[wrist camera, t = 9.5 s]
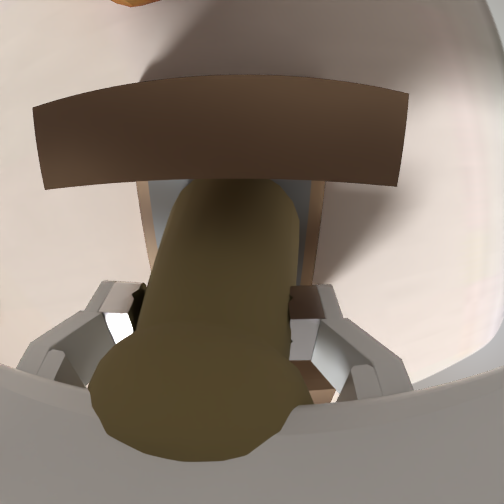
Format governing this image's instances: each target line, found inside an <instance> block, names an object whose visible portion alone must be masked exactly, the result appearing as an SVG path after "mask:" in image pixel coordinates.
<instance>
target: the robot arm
mask: <svg viewBox="0 0 504 504" xmlns="http://www.w3.org/2000/svg"><path fill="white" fill-rule="evenodd" d="M146 289H147V287H146V284H144V283H140V282H125V281H108V280H105V281H102V282H101V284H100V285H99V287H98V289H97V290H96V292H95V294H94V295H93V297H92V299H91V300H90V302H89V304H88V305H87V307H86V309H85V310H84V311H79V312H77V313H76V314H74V315H73V316H71V317H70V318H68V319H66V320H65V321H63V322H62V323H60V324H59V325H57V326H55V327H54V328H52V329H51V330H49V331H48V332H46V333H45V334H43V335H42V336H40V337H39V338H37V339H36V340H34V341H32V342H31V343H30V344H29V346H28V348H27V349H26V351H25V353H24V355H23V356H22V358H21V360H20V362H19V364H18V365H17V367H16V369H15V368H12V367H9V366H6V365H4V364H1V363H0V504H504V366H501V367H499V368H496V369H493V370H490V371H487V372H484V373H480V374H477V375H474V376H471V377H467V378H464V379H460V380H456V381H453V382H449V383H445V384H441V385H437V386H433V387H429V388H424V389H419V390H414V389H413V387H412V384H411V381H410V379H409V376H408V374H407V371H406V369H405V366H404V364H403V361H402V359H401V358H399V357H398V356H397V355H395V354H394V353H393V352H392V351H390V350H389V349H388V348H386V347H385V346H384V345H382V344H381V343H380V342H378V341H377V340H376V339H375V338H373V337H372V336H371V335H369V334H368V333H367V332H365V331H364V330H363V329H361V328H360V327H359V326H357V325H356V324H355V323H354V322H352V321H351V320H350V319H348V318H343V315H342V312H341V309H340V306H339V303H338V300H337V297H336V294H335V292H334V289H333V286H332V285H331V284H324V285H299V286H290V294H289V295H290V299H291V300H290V302H289V303H288V307H289V325H290V329H291V348H290V357H289V360H311V362H312V363H313V364H314V365H315V366H316V367H317V369H318V370H319V371H320V372H321V373H322V374H323V376H324V377H325V378H326V379H327V380H328V381H329V382H330V384H331V385H332V386H333V387H334V388H335V389H336V390H337V392H338V393H339V394H340V395H339V397H338V399H337V401H336V402H335V403H324V404H311V405H299V406H297V407H296V408H294V409H293V410H292V411H291V413H290V415H289V417H288V418H287V420H286V422H285V424H284V426H283V427H282V429H281V431H280V432H278V433H277V434H275V435H273V436H272V437H270V438H269V439H268V440H267V441H265V442H264V443H263V444H261V445H260V446H259V447H257V448H256V449H254V450H253V451H252V452H250V453H249V454H248V455H246V456H242V457H238V458H234V459H229V460H225V461H211V462H181V461H175V460H170V459H165V458H160V457H156V456H152V455H148V454H144V453H142V452H140V451H138V450H136V449H134V448H132V447H130V446H128V445H126V444H124V443H122V442H120V441H118V440H116V439H114V438H113V437H111V436H109V435H108V434H106V432H105V430H104V428H103V426H102V423H101V421H100V419H99V417H98V416H97V414H96V413H95V411H94V409H93V408H92V404H91V396H90V392H89V391H88V389H87V388H86V385H87V384H88V383H89V382H90V380H91V378H92V376H93V374H94V372H95V370H96V367H97V365H98V363H99V361H100V360H101V359H102V358H103V357H104V356H105V355H106V353H107V352H108V351H109V350H110V349H111V348H112V347H113V346H114V345H115V344H116V343H118V342H119V341H120V340H122V339H123V338H125V337H126V336H128V335H129V334H131V333H132V332H134V331H136V327H137V323H138V319H139V315H140V311H141V307H142V304H143V300H144V296H145V293H146Z"/></svg>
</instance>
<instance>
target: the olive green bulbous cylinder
mask: <svg viewBox="0 0 504 504" xmlns="http://www.w3.org/2000/svg"><path fill="white" fill-rule="evenodd" d="M299 223H300V221H299V218H298V215H297V212H296V209H295V206H294V203H293V201H292V200H291V199H290V198H289V196H288V195H287V194H286V193H285V191H284V190H283V189H282V188H281V186H280V185H278V184H276V183H275V182H273V181H272V180H270V179H194V180H193V181H192V182H191V183H190V184H188V185H187V186H186V187H185V188H184V189H183V190H182V191H181V192H180V194H179V196H178V198H177V199H176V201H175V203H174V205H173V207H172V209H171V212H170V215H169V218H168V221H167V224H166V227H165V230H164V233H163V236H162V239H161V242H160V245H159V248H158V252H157V255H156V258H155V261H154V265H153V268H152V272H151V275H150V278H149V282H148V285H147V289H146V293H145V296H144V300H143V304H142V307H141V311H140V315H139V319H138V323H137V327H136V331H134V332H132V333H131V334H129V335H128V336H126V337H125V338H123V339H122V340H120V341H119V342H118V343H116V344H115V345H114V346H113V347H112V348H111V349H110V350H109V351H108V352H107V353H106V355H105V356H104V357H103V358H102V359H101V360H100V361H99V363H98V365H97V367H96V370H95V372H94V374H93V376H92V378H91V380H90V382H89V385H88V391H89V392H90V396H91V404H92V408H93V409H94V411H95V413H96V414H97V416H98V417H99V419H100V421H101V423H102V426H103V428H104V430H105V432H106V434H108V435H109V436H111V437H113V438H114V439H116V440H118V441H120V442H122V443H124V444H126V445H128V446H130V447H132V448H134V449H136V450H138V451H140V452H142V453H144V454H148V455H152V456H156V457H160V458H165V459H170V460H175V461H181V462H211V461H225V460H229V459H234V458H238V457H242V456H246V455H248V454H249V453H250V452H252V451H253V450H254V449H256V448H257V447H259V446H260V445H261V444H263V443H264V442H265V441H267V440H268V439H269V438H270V437H272V436H273V435H275V434H277V433H278V432H280V431H281V429H282V427H283V426H284V424H285V422H286V420H287V418H288V417H289V415H290V413H291V411H292V410H293V409H294V408H296V407H297V406H299V405H311V404H314V402H313V400H312V397H311V395H310V393H309V390H308V388H307V386H306V384H305V381H304V379H303V377H302V375H301V373H300V371H299V369H298V368H297V367H296V366H295V365H294V364H293V363H291V362H290V361H289V357H290V348H291V329H290V325H289V307H288V303H289V302H290V300H291V299H290V295H289V294H290V286H296V279H297V265H298V250H299Z"/></svg>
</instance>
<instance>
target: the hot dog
mask: <svg viewBox="0 0 504 504" xmlns="http://www.w3.org/2000/svg"><path fill="white" fill-rule="evenodd" d="M111 1H113V2H115V3H117V4H121V5H125V6H129V7H135V6H142V5H146V4H149V3H152V2H156V1H160V0H111Z"/></svg>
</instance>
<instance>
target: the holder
mask: <svg viewBox="0 0 504 504" xmlns="http://www.w3.org/2000/svg"><path fill="white" fill-rule="evenodd" d="M408 99H409V94H408V93H404V92H399V91H395V90H390V89H385V88H380V87H375V86H369V85H364V84H358V83H351V82H344V81H337V80H329V79H320V78H309V77H297V76H281V75H208V76H192V77H180V78H170V79H161V80H153V81H145V82H138V83H132V84H126V85H120V86H115V87H110V88H105V89H100V90H95V91H91V92H86V93H82V94H78V95H74V96H70V97H66V98H63V99H59V100H56V101H52V102H49V103H46V104H42V105H39V106H36V107H33V119H34V128H35V136H36V143H37V150H38V156H39V162H40V168H41V173H42V178H43V183H44V188H45V190H48V189H56V188H65V187H75V186H85V185H95V184H107V183H121V182H136V185H137V192H138V199H139V206H140V213H141V219H142V225H143V231H144V237H145V242H146V248H147V253H148V258H149V263H150V268H151V272H152V268H153V265H154V261H155V258H156V255H157V252H158V248H159V245H160V242H161V239H162V236H163V233H164V230H165V227H166V224H167V221H168V218H169V215H170V212H171V209H172V207H173V205H174V203H175V201H176V199H177V198H178V196H179V194H180V192H181V191H182V190H183V189H184V188H185V187H186V186H187V185H188V184H190V183H191V182H192V181H193V180H194V179H270V180H272V181H273V182H275V183H276V184H278V185H280V186H281V188H282V189H283V190H284V191H285V193H286V194H287V195H288V196H289V198H290V199H291V200H292V201H293V203H294V206H295V209H296V212H297V215H298V218H299V221H300V223H299V250H298V265H297V279H296V286H299V285H312V280H313V273H314V266H315V260H316V253H317V245H318V238H319V231H320V223H321V215H322V206H323V197H324V188H325V181H331V182H347V183H360V184H372V185H384V186H394V187H397V183H398V177H399V171H400V165H401V159H402V152H403V145H404V137H405V129H406V120H407V110H408ZM289 361H290V362H291V363H293V364H294V365H295V366H296V367H297V368H298V369H299V371H300V373H301V375H302V377H303V379H304V381H305V384H306V386H307V388H308V390H309V393H310V395H311V397H312V400H313V402H314V404H324V403H330V402H331V400H332V398H333V396H334V393H335V391H336V389H335V388H334V387H333V386H332V385H331V384H330V382H329V381H328V380H327V379H326V378H325V377H324V376H323V374H322V373H321V372H320V371H319V370H318V369H317V367H316V366H315V365H314V364H313V363H312V362H311V360H289Z"/></svg>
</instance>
